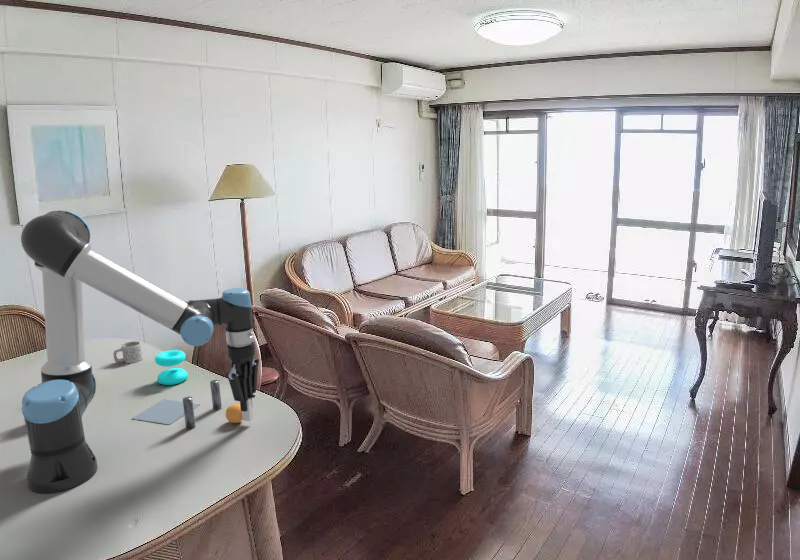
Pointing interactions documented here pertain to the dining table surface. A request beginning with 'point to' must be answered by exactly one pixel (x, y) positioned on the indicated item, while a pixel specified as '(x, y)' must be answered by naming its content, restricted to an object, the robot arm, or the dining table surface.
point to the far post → (215, 394)
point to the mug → (130, 352)
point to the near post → (189, 412)
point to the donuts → (172, 374)
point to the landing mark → (163, 412)
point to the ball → (234, 413)
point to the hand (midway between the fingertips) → (247, 419)
